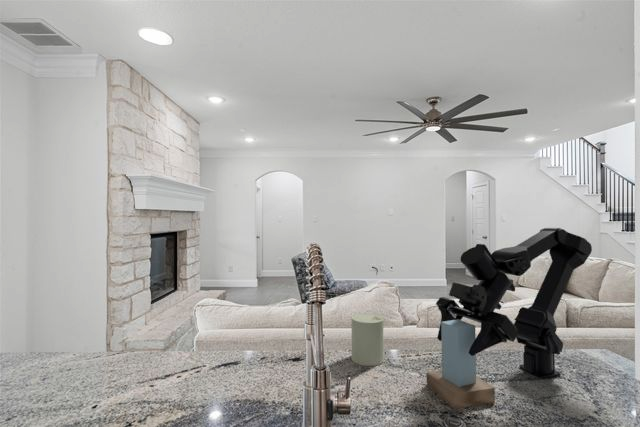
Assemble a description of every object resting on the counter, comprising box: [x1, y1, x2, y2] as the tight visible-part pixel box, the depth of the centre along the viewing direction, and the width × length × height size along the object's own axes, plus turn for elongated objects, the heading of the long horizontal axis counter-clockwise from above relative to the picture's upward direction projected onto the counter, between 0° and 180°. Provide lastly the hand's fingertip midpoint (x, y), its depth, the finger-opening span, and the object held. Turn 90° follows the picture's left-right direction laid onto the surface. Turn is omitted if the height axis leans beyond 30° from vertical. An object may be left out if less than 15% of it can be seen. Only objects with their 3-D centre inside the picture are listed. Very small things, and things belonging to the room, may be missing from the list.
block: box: [440, 319, 477, 387], centre depth 72 cm, size 5×5×12 cm
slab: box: [426, 369, 496, 409], centre depth 72 cm, size 10×10×3 cm
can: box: [350, 312, 385, 367], centre depth 90 cm, size 9×9×12 cm
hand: (453, 346), depth 72 cm, fingers open, 9 cm apart
